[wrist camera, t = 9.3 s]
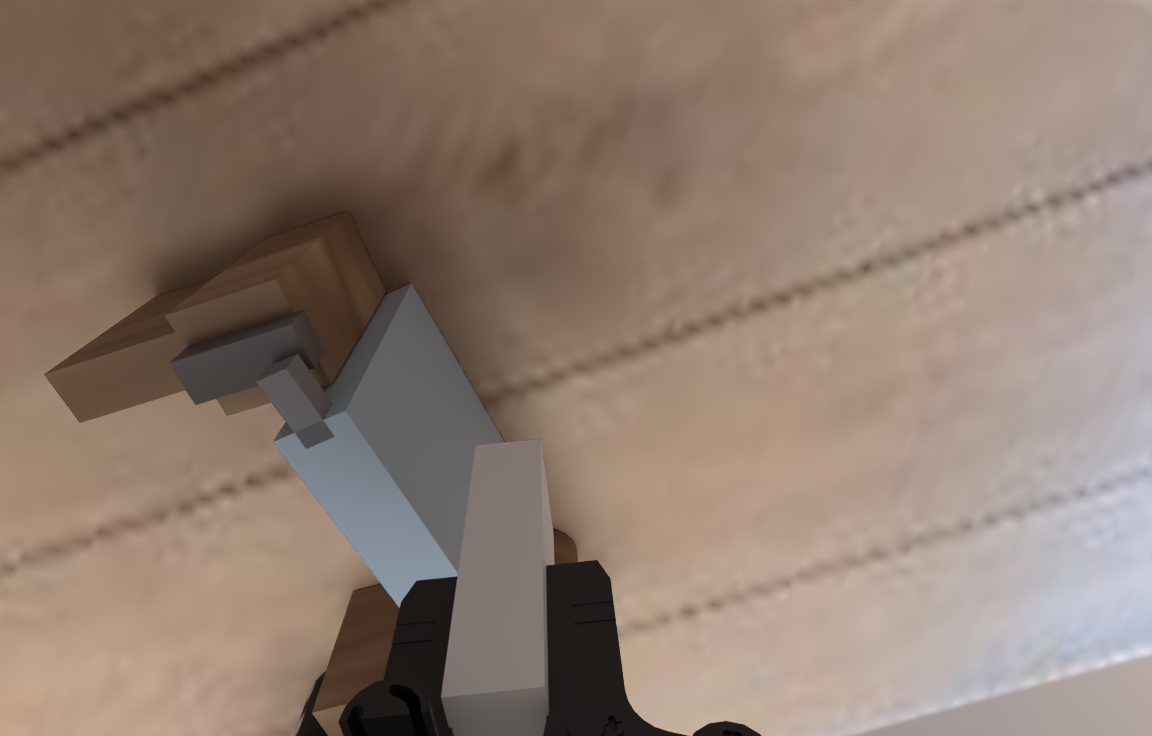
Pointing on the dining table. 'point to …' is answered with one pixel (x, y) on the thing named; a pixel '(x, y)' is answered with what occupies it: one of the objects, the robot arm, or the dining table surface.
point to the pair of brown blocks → (234, 364)
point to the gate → (388, 442)
